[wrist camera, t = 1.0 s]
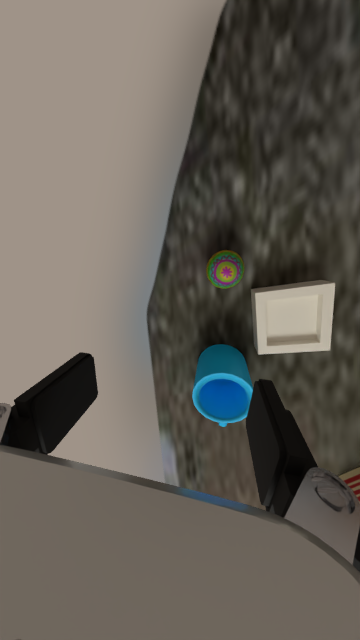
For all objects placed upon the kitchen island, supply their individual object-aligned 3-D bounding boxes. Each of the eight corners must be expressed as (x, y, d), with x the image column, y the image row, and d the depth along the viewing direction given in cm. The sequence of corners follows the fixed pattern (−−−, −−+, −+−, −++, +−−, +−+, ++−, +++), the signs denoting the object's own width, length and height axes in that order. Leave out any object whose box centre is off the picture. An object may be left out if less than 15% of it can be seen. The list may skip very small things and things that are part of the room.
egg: (247, 256, 26) (255, 256, 20) (233, 289, 28) (238, 298, 22) (213, 246, 26) (213, 243, 21) (202, 279, 28) (199, 285, 22)
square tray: (321, 279, 25) (335, 282, 22) (317, 340, 28) (329, 350, 25) (250, 289, 27) (255, 293, 24) (253, 344, 30) (258, 354, 27)
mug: (196, 343, 32) (190, 371, 24) (246, 344, 30) (257, 374, 22) (199, 400, 35) (195, 440, 28) (244, 403, 34) (252, 446, 26)
